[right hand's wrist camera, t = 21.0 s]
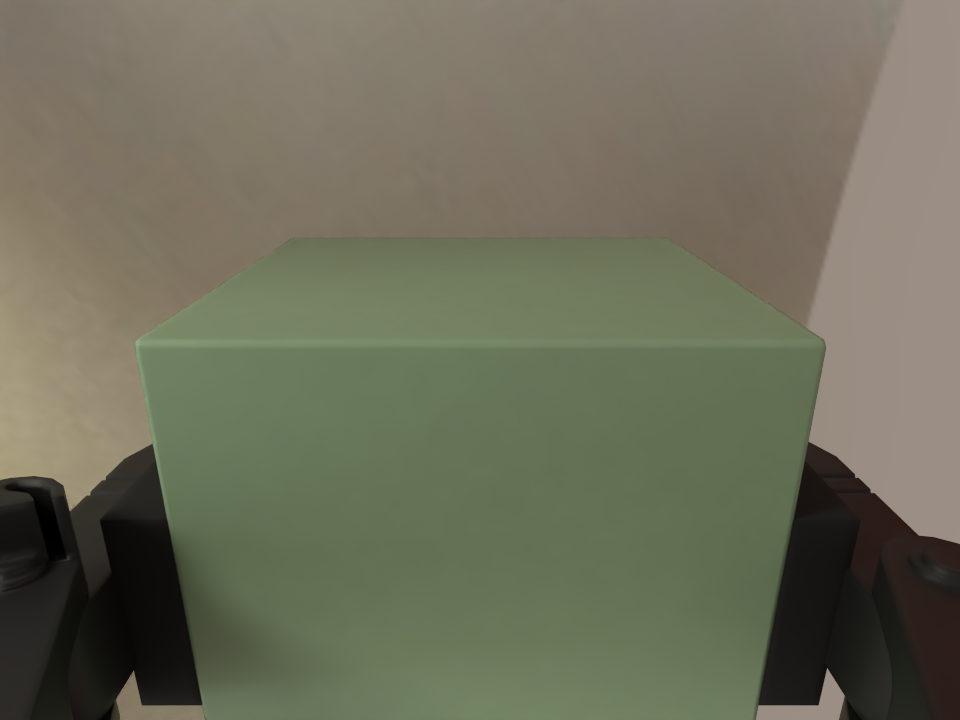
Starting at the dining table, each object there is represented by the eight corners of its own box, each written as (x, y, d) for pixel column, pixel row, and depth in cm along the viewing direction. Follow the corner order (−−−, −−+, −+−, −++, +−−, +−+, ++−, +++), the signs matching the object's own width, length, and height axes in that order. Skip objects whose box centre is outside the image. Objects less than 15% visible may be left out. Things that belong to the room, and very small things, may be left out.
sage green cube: (321, 555, 15) (222, 829, 9) (289, 237, 12) (128, 340, 7) (639, 555, 15) (738, 830, 9) (670, 236, 12) (832, 339, 7)
